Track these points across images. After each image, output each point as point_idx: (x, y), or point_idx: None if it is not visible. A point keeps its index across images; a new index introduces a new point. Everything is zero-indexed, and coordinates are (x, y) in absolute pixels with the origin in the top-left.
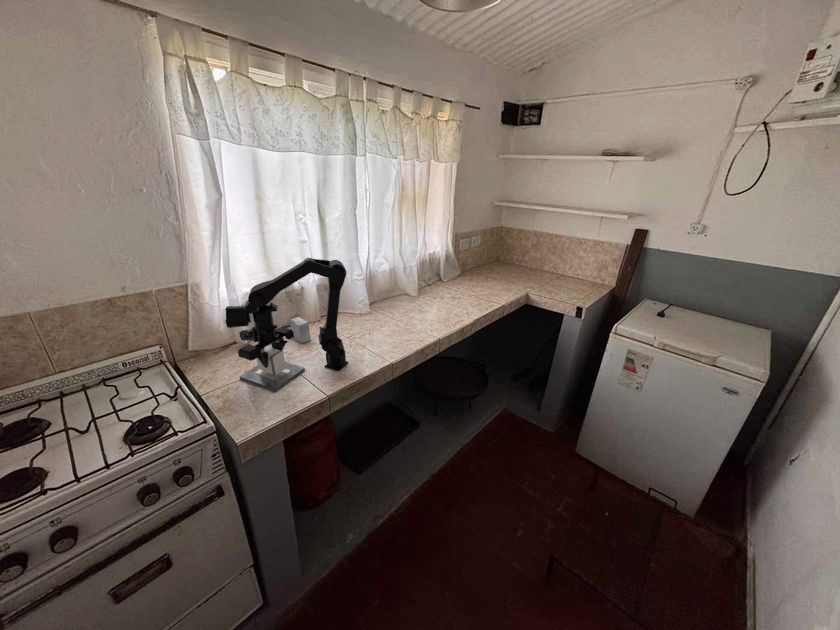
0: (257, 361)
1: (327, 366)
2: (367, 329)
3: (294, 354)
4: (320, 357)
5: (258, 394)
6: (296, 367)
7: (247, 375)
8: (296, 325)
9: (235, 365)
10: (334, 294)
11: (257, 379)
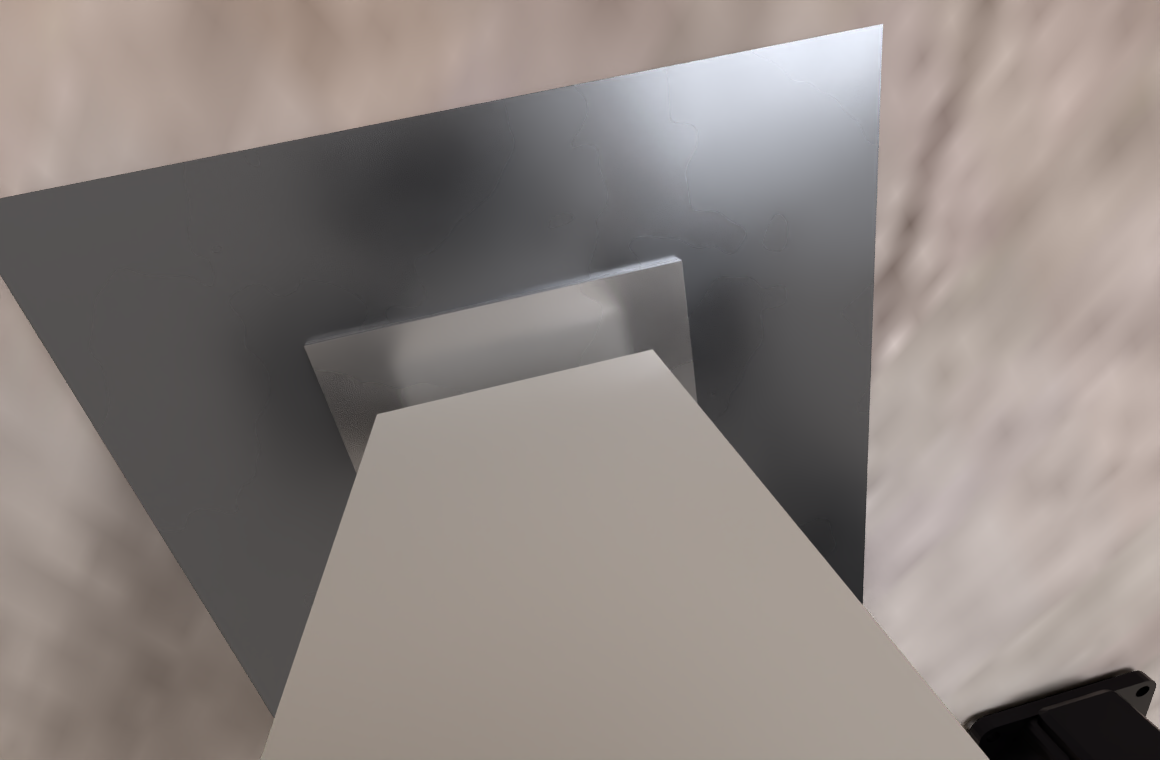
0: (336, 565)
1: (986, 753)
2: None
3: (1129, 210)
4: (1137, 542)
5: (176, 734)
6: None
7: (146, 313)
8: None
9: None
10: None
11: (261, 554)
